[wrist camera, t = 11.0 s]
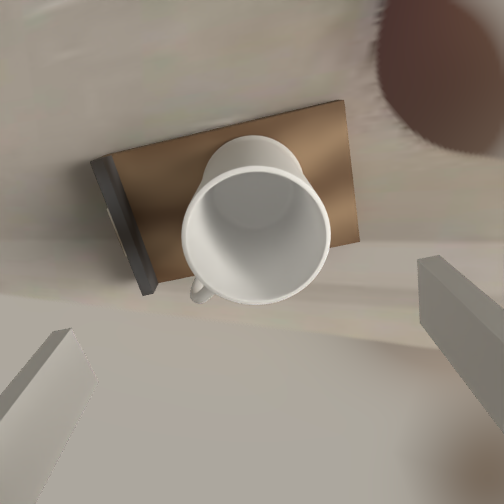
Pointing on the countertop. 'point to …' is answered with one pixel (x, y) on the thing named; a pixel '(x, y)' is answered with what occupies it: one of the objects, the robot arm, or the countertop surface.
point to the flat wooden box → (191, 174)
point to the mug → (254, 225)
